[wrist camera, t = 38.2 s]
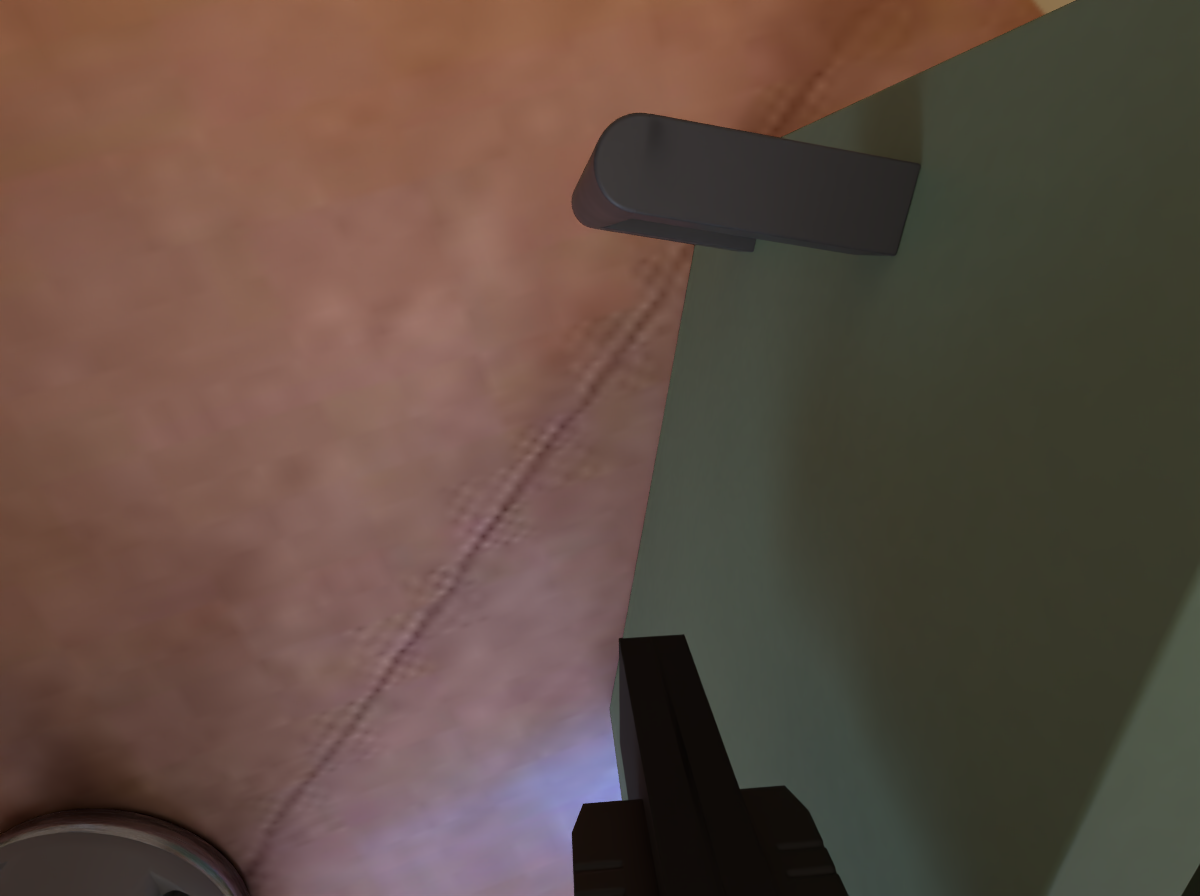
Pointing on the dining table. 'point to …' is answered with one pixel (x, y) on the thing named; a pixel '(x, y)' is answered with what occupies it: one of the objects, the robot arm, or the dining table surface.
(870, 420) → the cupboard door
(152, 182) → the dining table surface
